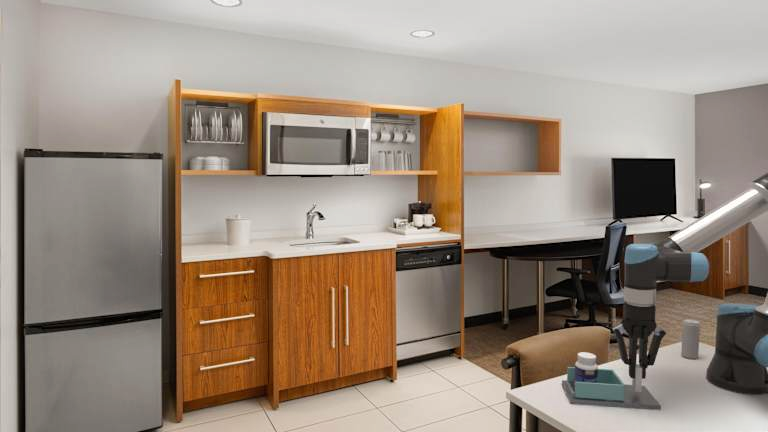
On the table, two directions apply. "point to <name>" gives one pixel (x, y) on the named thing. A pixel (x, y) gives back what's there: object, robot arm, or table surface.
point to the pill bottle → (586, 368)
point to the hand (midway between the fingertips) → (636, 389)
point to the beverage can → (690, 339)
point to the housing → (599, 386)
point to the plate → (631, 400)
